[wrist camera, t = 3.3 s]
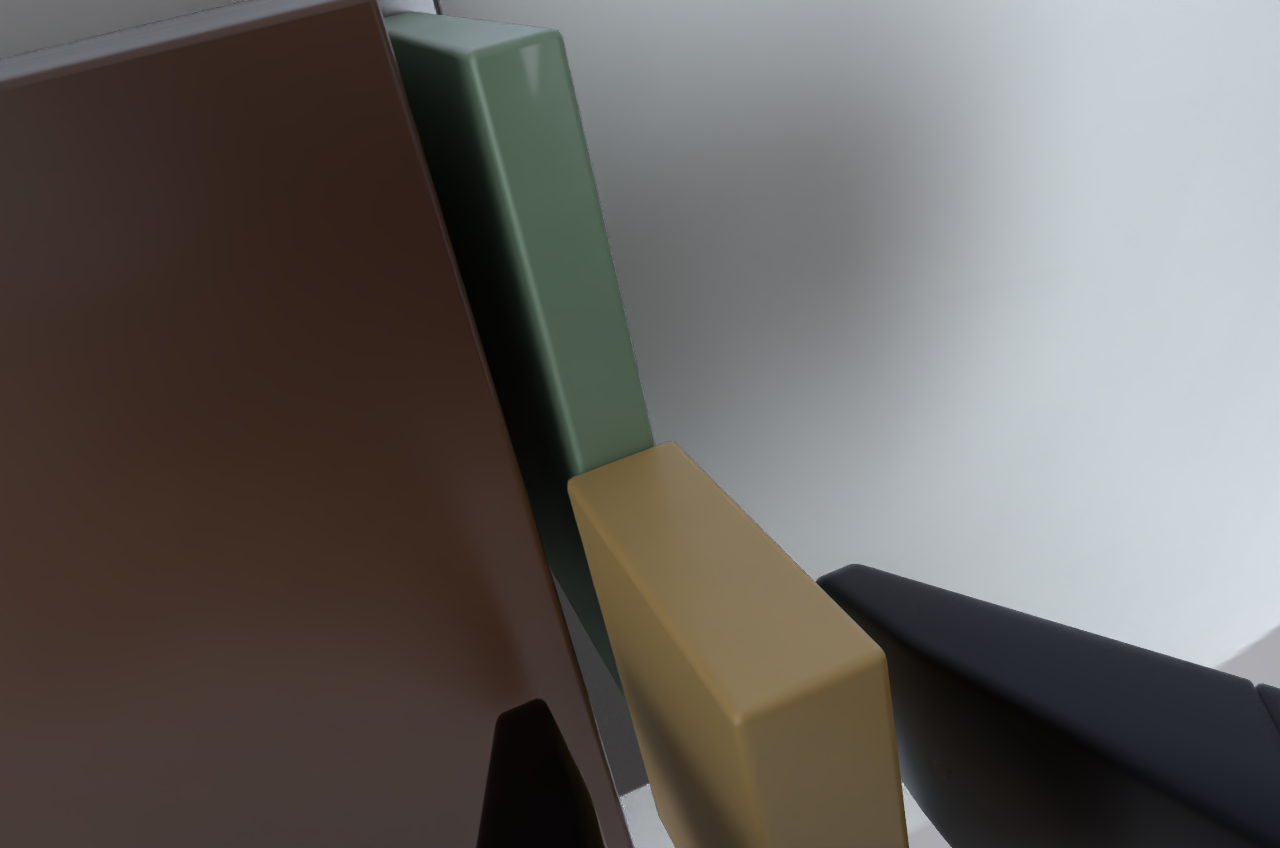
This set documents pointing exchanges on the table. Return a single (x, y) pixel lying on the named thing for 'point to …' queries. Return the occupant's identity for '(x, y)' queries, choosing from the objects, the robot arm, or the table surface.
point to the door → (641, 480)
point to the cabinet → (257, 459)
